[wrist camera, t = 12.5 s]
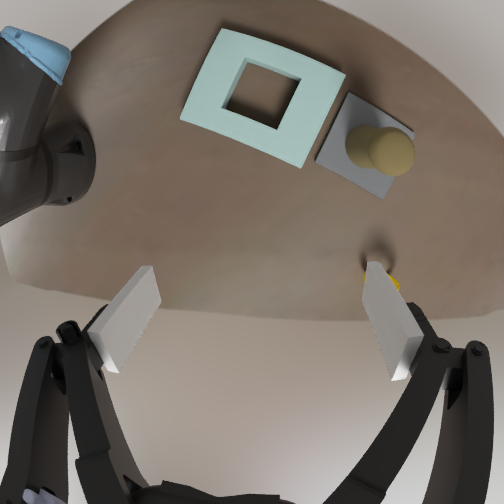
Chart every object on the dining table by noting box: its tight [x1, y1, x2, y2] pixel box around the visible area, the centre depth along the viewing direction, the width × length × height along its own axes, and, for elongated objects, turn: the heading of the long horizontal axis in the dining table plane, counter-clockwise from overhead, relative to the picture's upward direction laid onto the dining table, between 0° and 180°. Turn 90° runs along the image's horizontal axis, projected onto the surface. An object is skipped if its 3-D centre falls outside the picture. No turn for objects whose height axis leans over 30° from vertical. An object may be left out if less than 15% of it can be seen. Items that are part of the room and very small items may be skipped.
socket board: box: [180, 28, 346, 169], centre depth 30 cm, size 17×14×2 cm
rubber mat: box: [315, 92, 415, 199], centre depth 32 cm, size 11×11×1 cm
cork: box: [345, 125, 415, 176], centre depth 27 cm, size 6×6×11 cm
